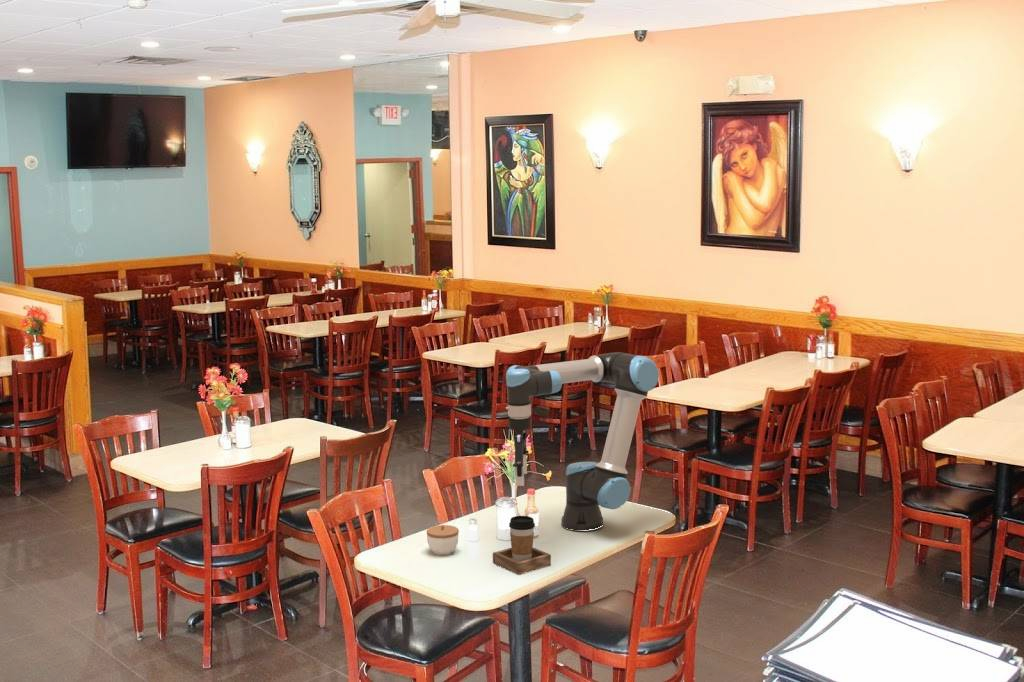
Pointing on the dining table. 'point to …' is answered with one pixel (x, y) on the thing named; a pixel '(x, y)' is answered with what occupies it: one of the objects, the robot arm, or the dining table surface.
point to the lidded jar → (442, 539)
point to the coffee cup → (521, 537)
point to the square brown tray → (507, 562)
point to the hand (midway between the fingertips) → (521, 479)
